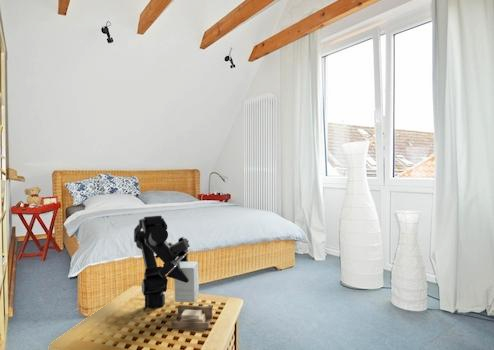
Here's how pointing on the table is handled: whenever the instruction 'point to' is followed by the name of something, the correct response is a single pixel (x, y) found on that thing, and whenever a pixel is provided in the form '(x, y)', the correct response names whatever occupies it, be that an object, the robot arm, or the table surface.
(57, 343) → the table surface
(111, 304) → the table surface
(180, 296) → the supplement box
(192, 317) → the offcut stack
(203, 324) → the tray
